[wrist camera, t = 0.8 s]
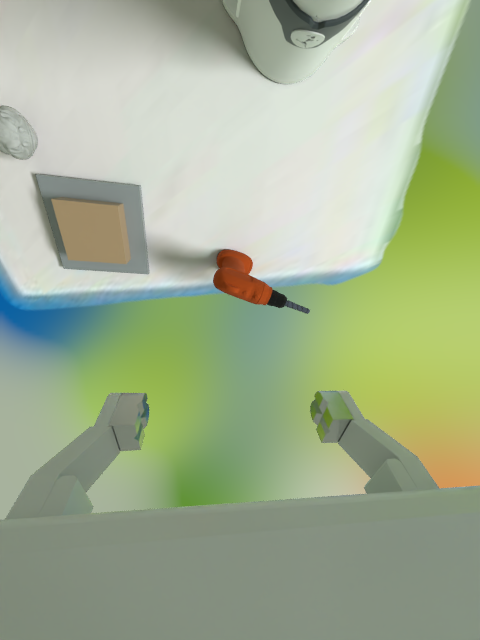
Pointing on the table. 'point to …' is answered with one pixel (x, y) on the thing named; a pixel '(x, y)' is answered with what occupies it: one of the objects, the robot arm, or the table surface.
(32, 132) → the grey lumpy sculpture
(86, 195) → the baseplate
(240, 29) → the robot arm
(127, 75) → the table surface
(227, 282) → the toy drill
